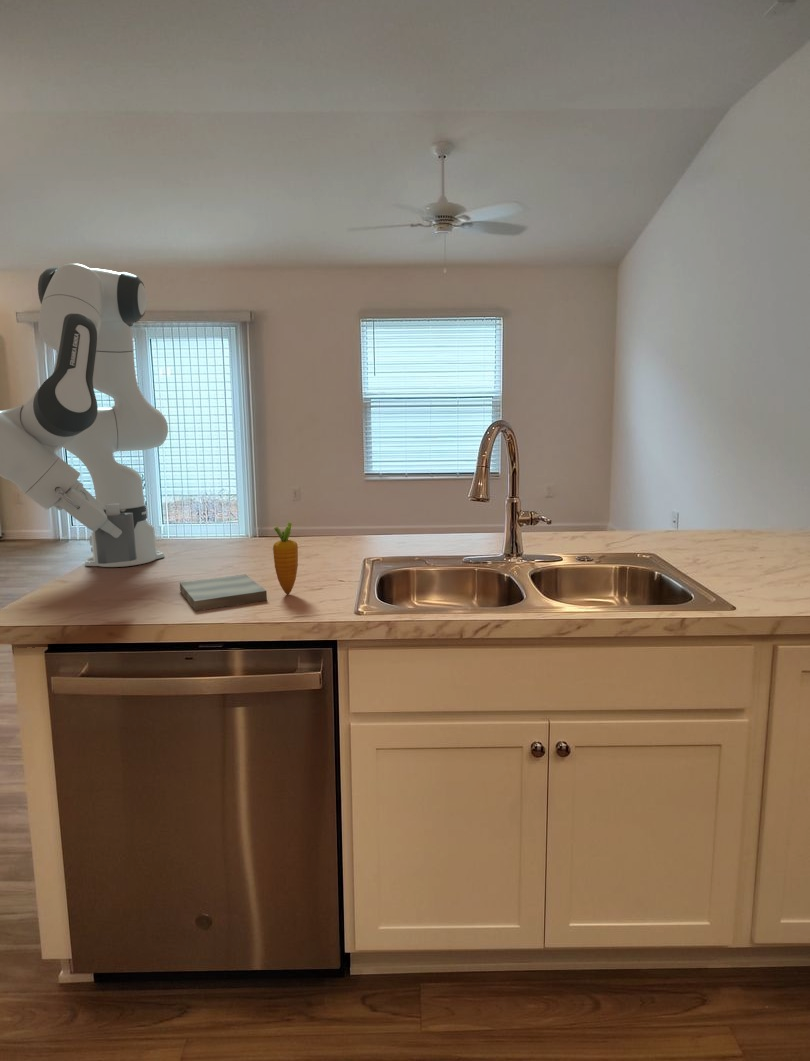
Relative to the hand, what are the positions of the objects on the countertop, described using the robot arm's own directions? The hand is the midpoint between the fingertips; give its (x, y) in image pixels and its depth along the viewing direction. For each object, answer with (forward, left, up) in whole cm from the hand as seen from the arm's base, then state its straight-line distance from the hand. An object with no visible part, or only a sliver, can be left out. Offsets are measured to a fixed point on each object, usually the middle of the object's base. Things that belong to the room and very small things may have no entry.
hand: (118, 532), depth 129 cm
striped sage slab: (+2, +18, -15) cm, 24 cm away
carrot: (+8, +30, -15) cm, 35 cm away
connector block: (0, -1, -5) cm, 5 cm away
